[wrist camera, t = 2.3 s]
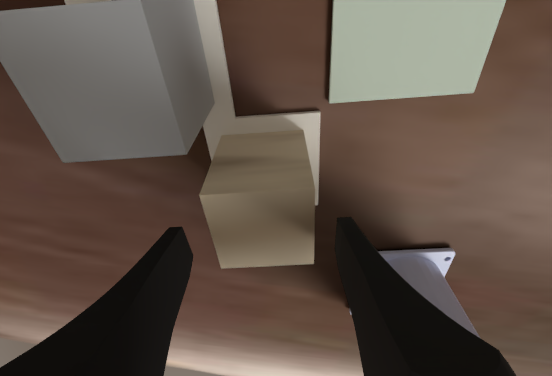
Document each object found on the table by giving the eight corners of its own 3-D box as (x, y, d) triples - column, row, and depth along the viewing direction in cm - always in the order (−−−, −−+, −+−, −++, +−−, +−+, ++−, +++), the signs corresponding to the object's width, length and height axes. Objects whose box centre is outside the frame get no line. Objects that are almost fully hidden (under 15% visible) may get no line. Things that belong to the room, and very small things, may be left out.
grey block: (214, 103, 15) (186, 154, 11) (128, 109, 16) (63, 162, 11) (192, -5, 12) (139, -2, 8) (87, 5, 13) (-30, 13, 8)
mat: (470, 91, 15) (473, 92, 15) (328, 101, 16) (329, 103, 15) (540, -116, 11) (547, -118, 10) (336, -95, 11) (337, -97, 11)
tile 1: (235, 116, 16) (235, 118, 16) (121, 124, 16) (119, 126, 16) (210, -35, 12) (209, -35, 12) (59, -20, 12) (54, -20, 12)
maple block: (304, 195, 19) (314, 263, 14) (234, 199, 20) (221, 268, 15) (303, 129, 16) (315, 188, 12) (221, 135, 17) (199, 195, 12)
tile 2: (317, 202, 20) (318, 205, 20) (224, 207, 20) (223, 210, 20) (319, 110, 16) (320, 112, 16) (202, 118, 16) (201, 121, 16)
